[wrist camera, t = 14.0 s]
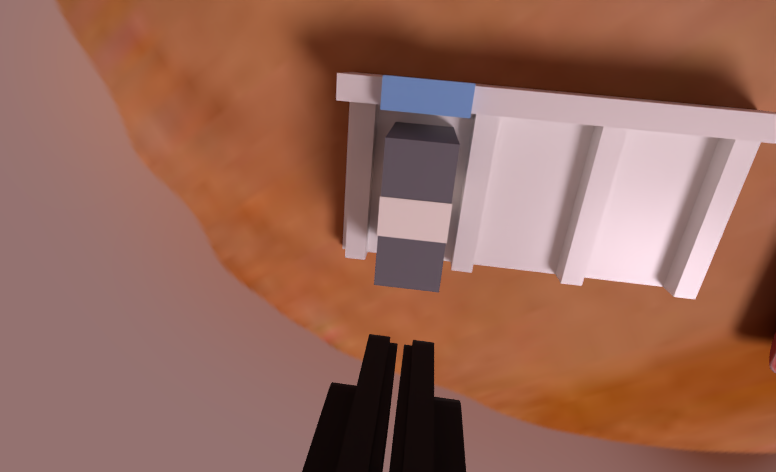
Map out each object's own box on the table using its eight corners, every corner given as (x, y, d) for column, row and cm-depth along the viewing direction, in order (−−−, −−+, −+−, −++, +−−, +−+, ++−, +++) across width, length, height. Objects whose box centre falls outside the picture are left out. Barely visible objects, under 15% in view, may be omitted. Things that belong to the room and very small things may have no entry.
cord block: (395, 121, 29) (384, 137, 23) (454, 127, 29) (461, 144, 22) (385, 240, 33) (373, 285, 26) (438, 246, 32) (439, 292, 26)
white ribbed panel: (352, 69, 29) (332, 70, 23) (759, 107, 27) (846, 118, 21) (343, 246, 34) (325, 283, 28) (686, 286, 32) (742, 334, 26)
